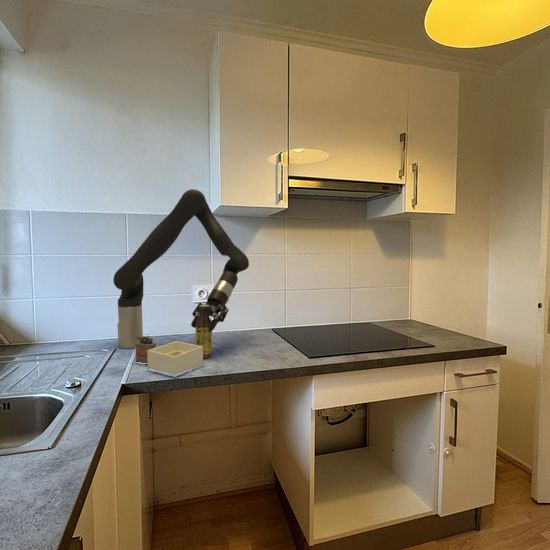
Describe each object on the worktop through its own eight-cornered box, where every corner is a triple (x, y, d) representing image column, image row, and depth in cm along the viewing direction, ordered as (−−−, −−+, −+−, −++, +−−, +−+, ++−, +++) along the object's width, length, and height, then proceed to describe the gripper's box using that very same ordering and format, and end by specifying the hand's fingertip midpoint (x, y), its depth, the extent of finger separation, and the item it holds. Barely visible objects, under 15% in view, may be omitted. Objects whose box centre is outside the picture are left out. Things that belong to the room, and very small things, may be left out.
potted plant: (158, 362, 121) (157, 335, 120) (152, 366, 117) (152, 338, 117) (139, 360, 123) (138, 334, 122) (133, 363, 120) (132, 336, 119)
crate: (147, 370, 113) (147, 350, 112) (176, 359, 124) (176, 341, 124) (175, 378, 107) (174, 357, 106) (203, 365, 118) (202, 346, 117)
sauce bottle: (195, 360, 124) (194, 307, 122) (194, 354, 130) (193, 304, 128) (213, 358, 125) (212, 306, 124) (211, 353, 131) (211, 303, 130)
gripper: (202, 287, 135) (182, 320, 127) (230, 289, 128) (211, 325, 119) (211, 298, 140) (192, 331, 132) (238, 301, 133) (220, 336, 124)
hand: (201, 328), depth 125 cm, fingers open, 8 cm apart
